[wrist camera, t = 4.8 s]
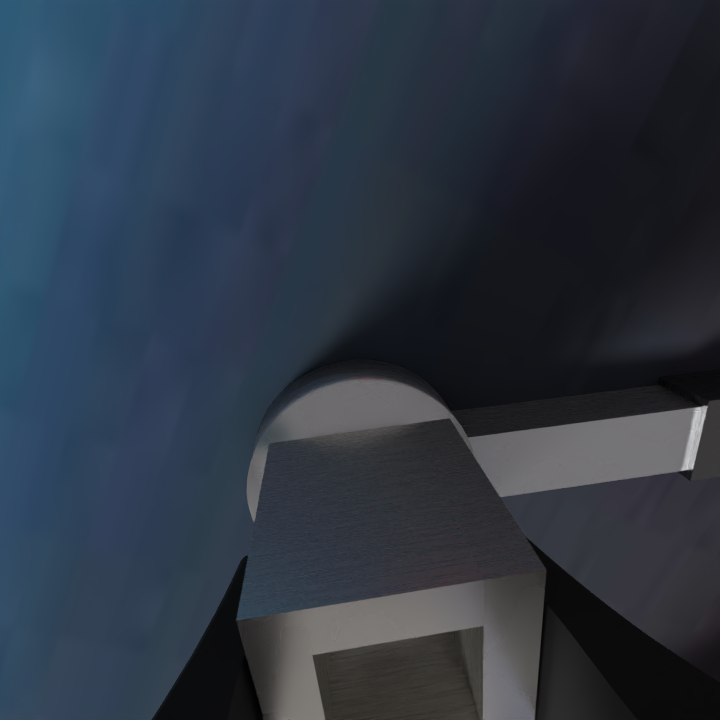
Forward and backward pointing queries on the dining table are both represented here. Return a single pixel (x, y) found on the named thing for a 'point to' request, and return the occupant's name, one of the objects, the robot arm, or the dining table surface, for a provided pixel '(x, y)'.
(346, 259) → the dining table surface
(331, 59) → the dining table surface
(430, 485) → the socket
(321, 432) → the ratchet
